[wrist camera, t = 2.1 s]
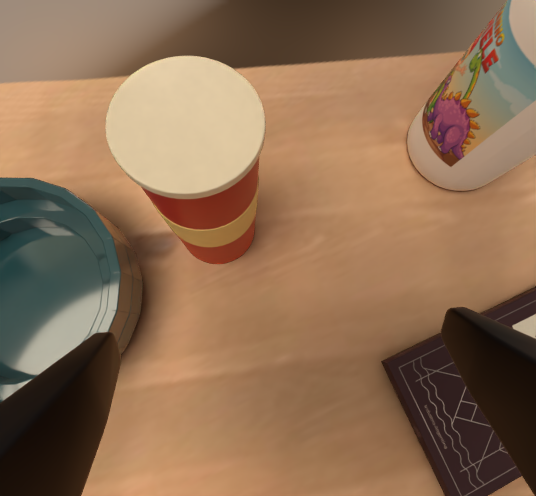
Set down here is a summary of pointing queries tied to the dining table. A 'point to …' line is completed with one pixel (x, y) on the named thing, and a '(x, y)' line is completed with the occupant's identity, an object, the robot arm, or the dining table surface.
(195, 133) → the snack tub
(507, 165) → the milk bottle
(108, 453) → the dining table surface
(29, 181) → the bowl
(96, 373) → the robot arm
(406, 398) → the chocolate bar
